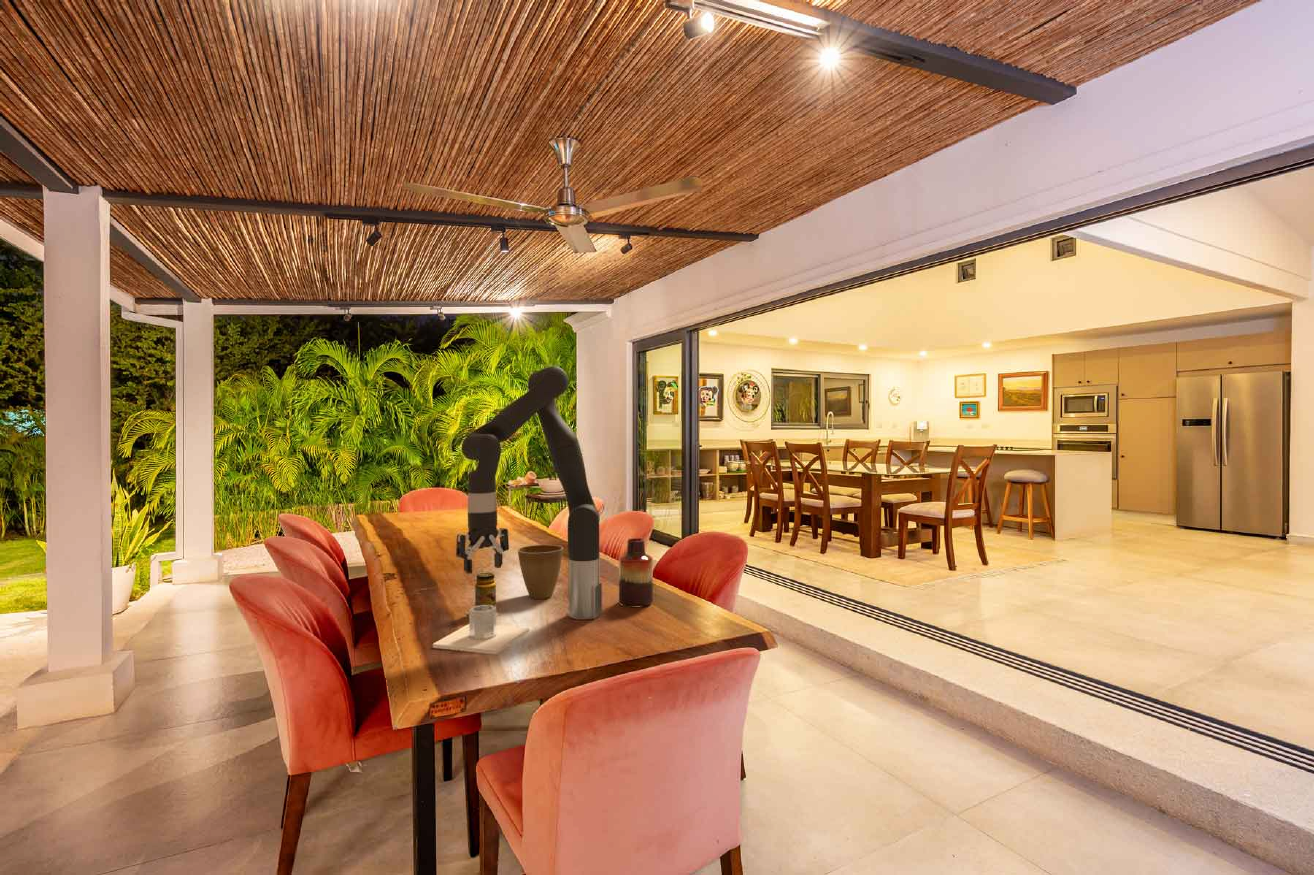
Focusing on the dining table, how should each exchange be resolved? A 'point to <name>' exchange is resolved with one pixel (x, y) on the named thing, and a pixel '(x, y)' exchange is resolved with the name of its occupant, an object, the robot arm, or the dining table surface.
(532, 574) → the plant pot
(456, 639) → the duct flange
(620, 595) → the vase
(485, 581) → the condiment
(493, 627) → the collar
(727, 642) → the dining table surface
